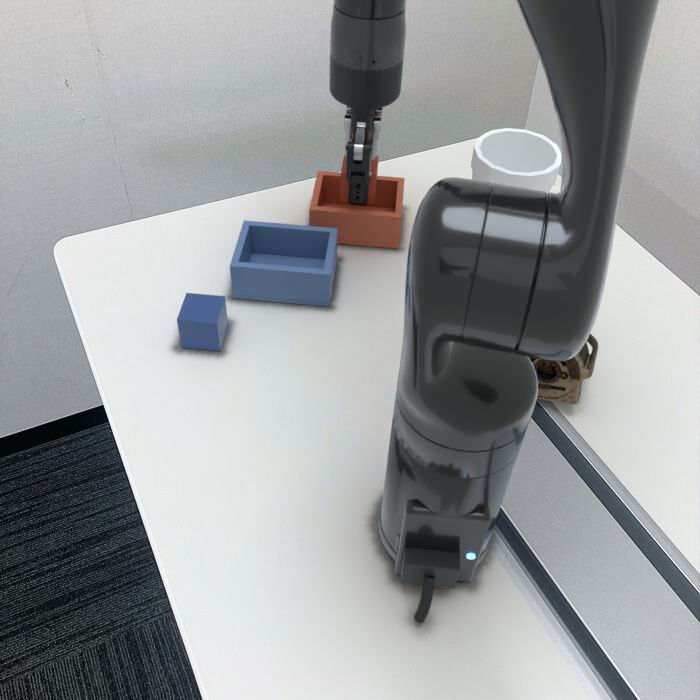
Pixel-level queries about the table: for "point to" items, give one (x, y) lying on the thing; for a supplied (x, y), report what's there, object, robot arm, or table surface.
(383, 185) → the terracotta bin
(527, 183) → the foam cup
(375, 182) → the terracotta block
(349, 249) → the table surface
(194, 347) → the slate block
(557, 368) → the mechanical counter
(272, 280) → the blue bin
